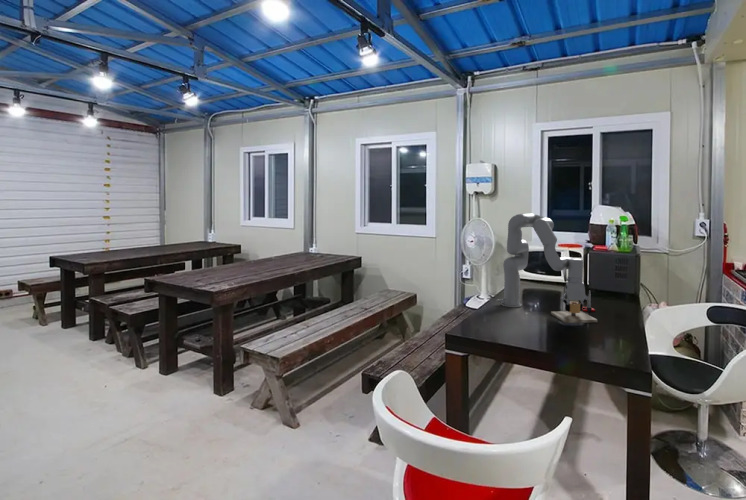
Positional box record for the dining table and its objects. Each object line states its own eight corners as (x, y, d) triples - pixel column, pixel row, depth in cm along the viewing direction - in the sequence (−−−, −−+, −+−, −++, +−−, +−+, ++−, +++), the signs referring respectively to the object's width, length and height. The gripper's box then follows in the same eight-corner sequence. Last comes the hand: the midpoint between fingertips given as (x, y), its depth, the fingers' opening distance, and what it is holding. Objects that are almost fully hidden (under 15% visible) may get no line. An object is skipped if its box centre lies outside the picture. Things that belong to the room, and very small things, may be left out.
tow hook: (577, 308, 266) (582, 311, 256) (577, 288, 265) (582, 290, 255) (591, 308, 264) (596, 312, 255) (592, 288, 263) (597, 291, 254)
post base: (565, 322, 234) (565, 309, 233) (550, 314, 252) (551, 301, 251) (597, 322, 234) (598, 309, 233) (580, 313, 252) (581, 301, 251)
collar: (570, 313, 239) (571, 304, 239) (565, 310, 246) (565, 301, 245) (582, 312, 239) (582, 304, 239) (576, 309, 246) (576, 301, 245)
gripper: (563, 281, 236) (561, 312, 239) (593, 281, 237) (592, 312, 239) (557, 279, 244) (555, 309, 246) (586, 278, 244) (585, 308, 246)
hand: (573, 310), depth 242 cm, fingers closed on collar, 6 cm apart
